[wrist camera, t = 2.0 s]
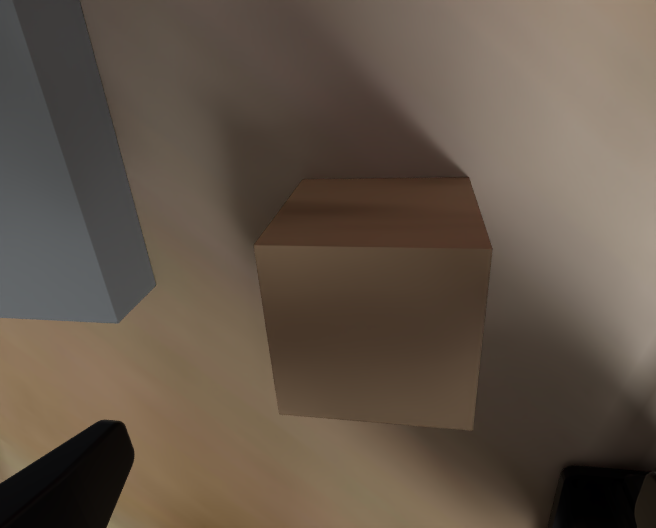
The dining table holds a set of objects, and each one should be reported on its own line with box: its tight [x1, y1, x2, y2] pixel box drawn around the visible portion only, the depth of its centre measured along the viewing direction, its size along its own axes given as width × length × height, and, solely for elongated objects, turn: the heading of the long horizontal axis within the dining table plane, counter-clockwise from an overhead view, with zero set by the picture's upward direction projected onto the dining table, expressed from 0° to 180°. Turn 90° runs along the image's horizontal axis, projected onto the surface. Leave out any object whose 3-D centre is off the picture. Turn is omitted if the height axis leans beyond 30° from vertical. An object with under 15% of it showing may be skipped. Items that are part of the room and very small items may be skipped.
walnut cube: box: [254, 177, 492, 431], centre depth 13 cm, size 5×5×5 cm
